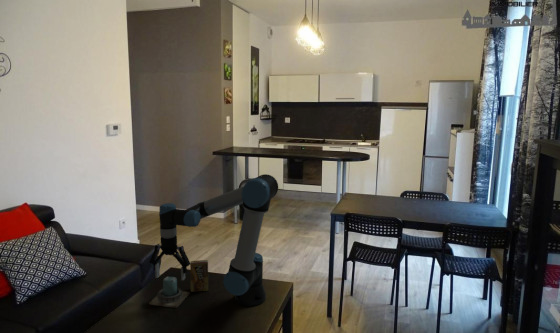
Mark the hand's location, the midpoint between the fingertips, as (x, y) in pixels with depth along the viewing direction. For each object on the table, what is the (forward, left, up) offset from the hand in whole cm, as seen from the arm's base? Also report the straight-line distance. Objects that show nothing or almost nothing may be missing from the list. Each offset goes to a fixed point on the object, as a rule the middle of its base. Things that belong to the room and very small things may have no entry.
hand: (170, 278), depth 183 cm
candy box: (-10, -12, -11) cm, 19 cm away
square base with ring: (0, 0, -11) cm, 11 cm away
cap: (0, 0, -10) cm, 10 cm away
